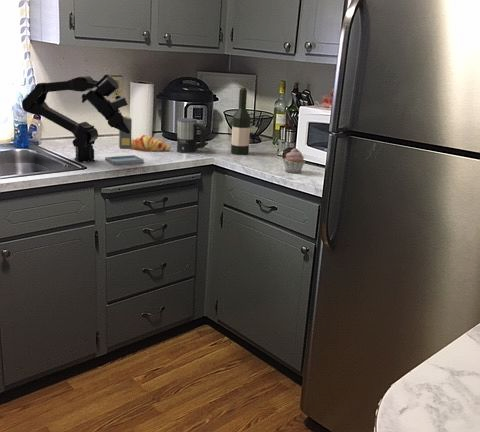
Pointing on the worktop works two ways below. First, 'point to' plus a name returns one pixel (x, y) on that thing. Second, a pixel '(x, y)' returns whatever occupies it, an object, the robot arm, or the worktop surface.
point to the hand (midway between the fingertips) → (128, 131)
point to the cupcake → (294, 161)
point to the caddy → (125, 135)
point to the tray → (124, 160)
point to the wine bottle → (241, 127)
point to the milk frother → (190, 135)
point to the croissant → (149, 144)
